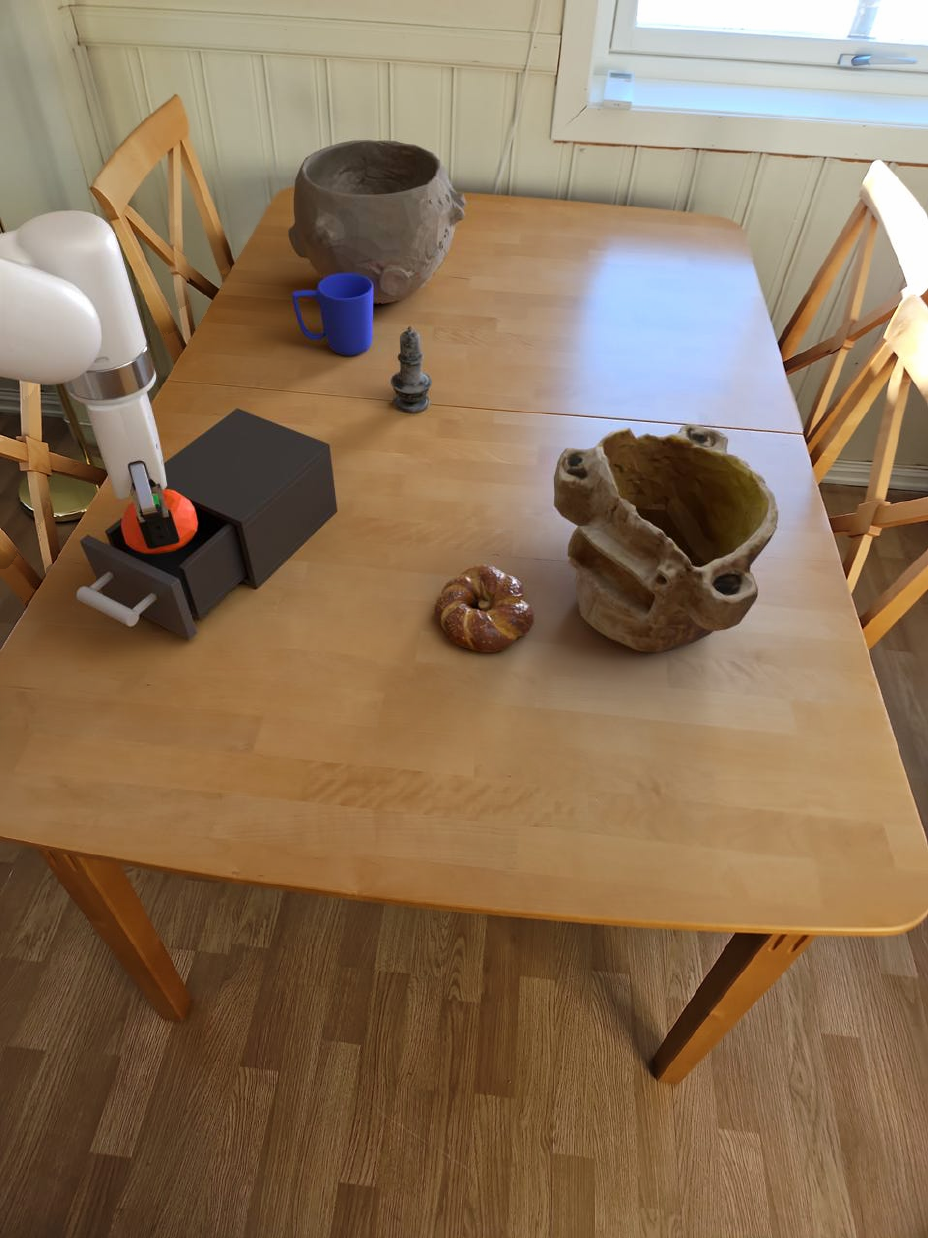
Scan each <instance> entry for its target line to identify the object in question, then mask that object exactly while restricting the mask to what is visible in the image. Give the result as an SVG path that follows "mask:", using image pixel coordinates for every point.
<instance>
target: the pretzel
mask: <svg viewBox="0 0 928 1238" xmlns="http://www.w3.org/2000/svg"><path fill="white" fill-rule="evenodd" d="M524 595H525V593H524V587H523V585H522V583H521V581H520V580H518V579H517V578H516V577H515V576H512V575H510V574H507V573H504V572H502V571H501V570H500V569H498V568H496V567H494V566H492V565H487V564H479V565H474V566H471V567H469V568H467V569H466V570H465V571H463V572H462V573H460V575H458V576H456V577H454V578H452V579H451V580H449V581H448V582H446V583H445V585H444V586H443V589H442V590H441V592H440V597H438V599H437V600H436V602H435V605H434V617H435V618H436V622H437V623H438V624H439V626H440V627H441V628H442V630H444V632H445V634H446V637H447V638H449V640H451V642H452V643H454V644H456V645H458V646H459V647H463V648H465V649H469V650H475V651H477V652H481V653H498V652H502V651H505V650H507V649H509V648H510V646H511V645H513V643H514V642H515V641H516V640H517V638H518V637H523V636H524V635H526V634H527V633H528V632H529V631H530V630H531V629H532V627H533V625H534V623H535V614H534V611H533V609H532V607H531V605H530V604H529V603H527V602H525V601H524V600H523V598H524ZM474 607H476V608H474Z"/></svg>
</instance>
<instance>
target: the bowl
mask: <svg viewBox="0 0 928 1238" xmlns="http://www.w3.org/2000/svg"><path fill="white" fill-rule="evenodd" d="M466 203H467V200H466V198H465V195H464V194H463V193H461V192H458V191H456V190H455V189H454V187H453V186H452V183H451V181H450V178H449V175H448V173H447V171H446V169H445V167H444V165H443V163H442V161H441V160H440V159H439V158H438V157H437V156H436V154H434V152H432V151H430V150H428V149H425V148H424V147H422V146H419V145H416V144H411V143H404V142H401V141H397V140H383V139H382V140H374V139H373V140H371V139H358V140H357V139H355V140H354V139H353V140H349V141H342V142H339V143H336V144H335V143H334V144H332V145H329V146H326V147H323V148H321V149H318V150H316V151H315V152H313V153H311V154H310V155H308V156H307V157H305V158H304V160H303V162H302V163H301V165H300V168H299V169H298V172H297V175H296V177H295V180H294V189H293V215H294V216H293V217H294V223H293V225H292V226H291V227H290V228H288V230H287V233H288V239H289V241H290V244H291V247H292V249H293V251H294V252H295V253H296V255H297V256H298V257H300V258H301V259H308V261H309V262H310V263H309V264H311V266H312V268H314V270H315V271H316V273H317V274H318V275H319V277H320V278H321V280H322V279H324V278H326V277H328V276H330V275H334V274H338V273H354V274H359V275H362V276H365V277H367V278H368V279H370V280H371V282H372V283H373V304H379V303H381V304H388V303H396V301H397V302H399V301H402V300H405V299H408V298H410V297H411V296H413V295H415V294H416V293H417V292H419V291H420V290H421V289H423V287H424V286H425V285H426V284H428V283H429V282H430V280H431V279H432V277H433V276H434V275H435V273H436V272H437V271H438V269H440V268H441V266H442V264H443V262H444V260H445V259H446V257H447V255H448V252H449V250H450V249H451V244H452V241H453V237H454V234H455V231H456V230H455V229H456V228H457V225H458V223H459V222H460V221H463V220H465V218H466V213H465V210H464V208H465V207H466ZM407 297H408V298H407ZM381 304H380V305H381Z"/></svg>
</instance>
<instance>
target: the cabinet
mask: <svg viewBox="0 0 928 1238" xmlns="http://www.w3.org/2000/svg"><path fill="white" fill-rule="evenodd" d="M163 463H164V469H165V475H166V482H167V488H168V489H170V490H174V491H176V492H177V493H179V494H181V495H182V496H184V497H185V498H187V499H188V500H190V502H191V503H192V505H193V506H194V507H196V508H199V509H201V510H203V511H205V512H208V513H210V514H212V515H214V516H217V517H219V518H221V519H223V520H225V521H228V522H230V523H232V524H234V525H237V530H238V534H239V538H240V542H241V546H242V550H243V554H244V558H245V563H246V567H247V571H248V575H247V576H246V577H245V578H244V579H243V580H242V581H240V583H244V584H246V585H247V586H249V587H251V588H254V589H256V590H258V589H259V588H260V587H261V586H262V585H263V584H264V583H265V582H267V580H269V578H270V577H271V576H272V575H274V573H276V572H277V571H278V569H280V568H281V567H282V566H283V565H284V564H285V563H286V562H287V561H288V560H289V559H290V558H291V557H292V556H293V555H294V554H295V553H296V552H297V551H299V549H300V548H301V547H302V546H303V545H304V544H306V542H307V541H309V540H310V538H312V537H313V536H314V535H315V534H316V533H317V532H318V531H319V530H320V529H321V528H322V527H323V526H324V525H325V524H326V523H327V522H328V521H329V520H330V519H331V518H332V517H333V516H334V515H336V513H337V512H338V504H337V497H336V486H335V477H334V471H333V470H334V469H333V461H332V454H331V445H330V444H329V443H328V442H325V441H322V440H320V439H317V438H315V437H312V436H310V435H308V434H304V433H302V432H299V431H296V430H294V429H291V428H289V427H287V426H284V425H282V424H279V423H276V422H274V421H272V420H269V419H266V418H264V417H261V416H258V415H256V414H253V413H251V412H248V411H245V410H243V409H240V408H238V407H236V408H235V409H234V410H232V411H231V412H230V413H228V414H227V415H226V416H225V417H223V418H222V419H220V420H219V421H218V422H217V423H215V424H214V425H213V426H211V427H210V428H208V429H207V430H206V431H204V432H203V433H202V434H201V435H199V436H197V437H196V438H195V439H194V440H193V441H191V442H190V443H189V444H187V445H186V446H184V447H183V448H181V450H179V451H178V452H176V453H175V454H174V455H173V456H171V457H170V458H169V459H167V460H166V461H164V462H163Z"/></svg>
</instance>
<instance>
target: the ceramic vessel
mask: <svg viewBox="0 0 928 1238" xmlns="http://www.w3.org/2000/svg"><path fill="white" fill-rule="evenodd" d="M728 444H729V438H728V437H727V435H725V434H724V433H722V432H721V431H720V430H718V429H714V428H708V427H705V426H702V425H698V424H694V423H688V424H685V425H681V427H680V429H679V430H678V432H676V433H671V434H668V435H665V436H657V435H651V434H650V433H644V434H642V435H641V434H640V435H639V436H636V435H635V433H633V431H632V429H631V427H629V426H628V427H624V428H620V429H616V430H612V431H611V432H609V433H608V434H607V435H605V436H604V437H602V438H601V440H600V441H599V442H598V443H597V444H596V445H595V446H594V447H589V448H579V449H578V448H575V447H566V448H565V449H564V450H563V452H561V454H560V456H559V458H558V459H557V462H556V468H555V471H554V475H553V491H554V492H553V506H554V508H555V509H556V511H557V512H558V514H559V515H560V516H561V517H562V518H564V519H565V520H567V521H569V522H570V523H572V524H574V525H575V526H577V527H576V528H575V529H574V531H573V532H572V534H571V536H570V539H569V542H568V544H567V557H568V563H567V564H569V565H570V566H571V567H573V568H574V569H575V570H576V574H575V575H576V576H575V581H574V592H575V596H576V601H577V602H578V605H579V607H578V608H579V612H580V616H581V617H582V618H583V619H584V620H585V622H586V623H588V624H589V626H591V627H593V629H595V630H596V631H597V632H599V633H600V634H602V635H604V636H605V637H607V638H608V639H610V640H612V641H615V642H617V643H620V644H623V645H625V646H626V647H628V648H630V649H632V650H634V651H640V652H647V653H656V654H657V653H661V652H668V651H671V650H675V649H679V648H680V647H683V646H686V645H688V644H693V643H696V642H698V641H699V640H701V639H704V638H706V637H708V636H710V635H711V634H712V633H714V632H719V631H725V630H726V631H727V630H729V629H732V628H733V627H736V626H738V625H740V624H741V622H742V621H743V620H744V618H745V617H746V616H747V614H748V613H749V611H750V610H751V608H752V607H753V606H754V604H755V602H756V601H757V598H758V596H759V595H758V594H759V588H758V584H757V581H756V579H755V576H754V574H753V573H752V571H751V567H752V565H753V564H754V562H755V561H756V559H757V558H758V557H759V555H760V554H761V553H762V552H763V550H765V548H766V547H767V546H768V544H769V543H770V541H771V540H772V538H773V537H774V534H775V532H776V530H777V529H778V525H777V524H778V522H779V509H778V506H777V501H776V497H775V494H774V492H772V491H771V490H770V488H769V486H768V484H767V483H766V481H765V478H764V477H763V476H762V474H761V473H759V472H758V471H757V470H755V469H754V468H753V467H752V466H751V465H750V464H749V462H748V461H747V460H745V459H743V458H742V457H740V456H738V455H736V454H731V453H728V450H727V449H728Z"/></svg>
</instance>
